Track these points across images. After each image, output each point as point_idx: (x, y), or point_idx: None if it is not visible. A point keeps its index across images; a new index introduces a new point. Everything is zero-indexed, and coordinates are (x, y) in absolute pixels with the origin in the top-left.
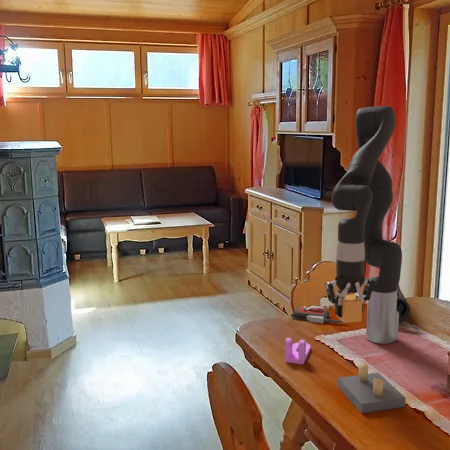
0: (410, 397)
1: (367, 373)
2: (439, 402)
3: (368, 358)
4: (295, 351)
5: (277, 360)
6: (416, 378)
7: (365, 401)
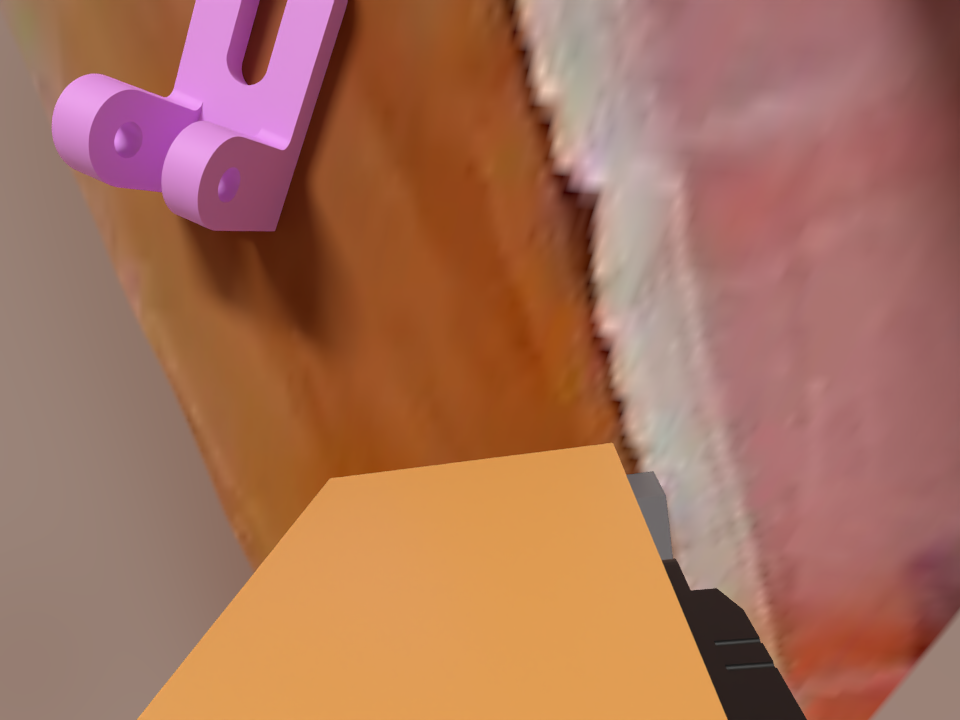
0: None
1: None
2: (861, 692)
3: (718, 177)
4: (222, 78)
5: None
6: (889, 470)
7: None
